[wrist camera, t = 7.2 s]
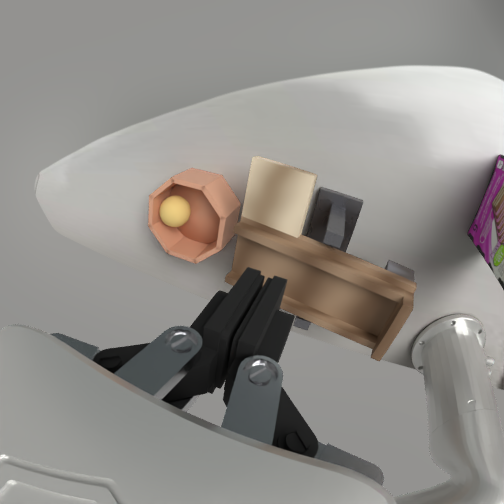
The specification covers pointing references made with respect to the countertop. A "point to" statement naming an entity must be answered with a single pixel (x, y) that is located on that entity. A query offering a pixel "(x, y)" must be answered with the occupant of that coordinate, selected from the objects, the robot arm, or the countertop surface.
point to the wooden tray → (316, 263)
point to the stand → (332, 225)
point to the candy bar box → (491, 223)
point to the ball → (175, 211)
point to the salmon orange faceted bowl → (196, 215)
